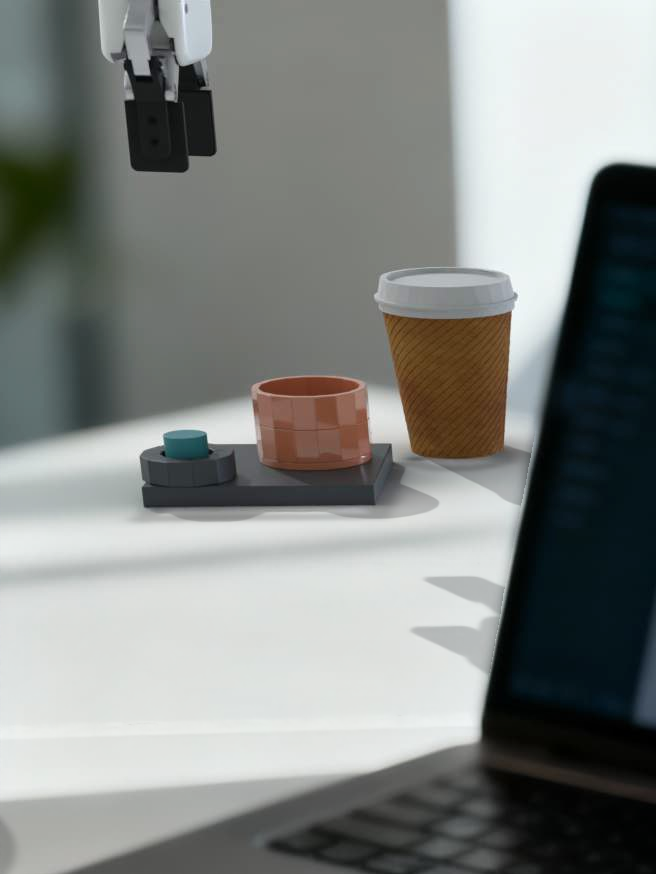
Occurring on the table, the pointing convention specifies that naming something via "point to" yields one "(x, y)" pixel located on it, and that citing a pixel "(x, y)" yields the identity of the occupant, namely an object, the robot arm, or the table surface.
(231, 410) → the table surface
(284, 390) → the pink cylindrical container
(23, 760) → the table surface
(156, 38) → the robot arm
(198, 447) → the button
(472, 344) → the disposable coffee cup
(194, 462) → the dark grey flat block
